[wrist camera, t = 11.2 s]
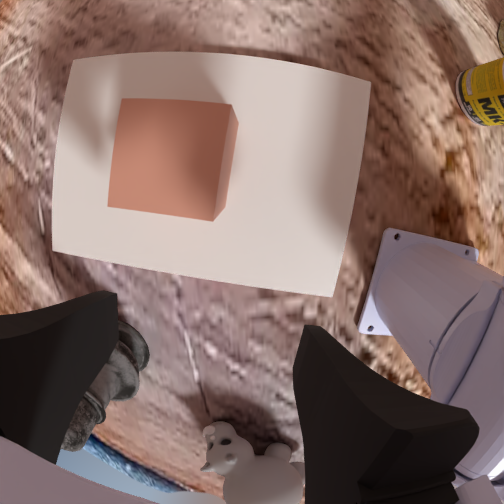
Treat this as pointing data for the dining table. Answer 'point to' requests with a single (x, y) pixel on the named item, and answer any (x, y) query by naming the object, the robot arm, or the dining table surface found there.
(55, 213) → the tray
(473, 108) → the supplement bottle
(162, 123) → the cube
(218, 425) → the round bodied animal figurine
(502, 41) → the ceramic model
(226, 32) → the dining table surface
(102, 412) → the salt shaker
